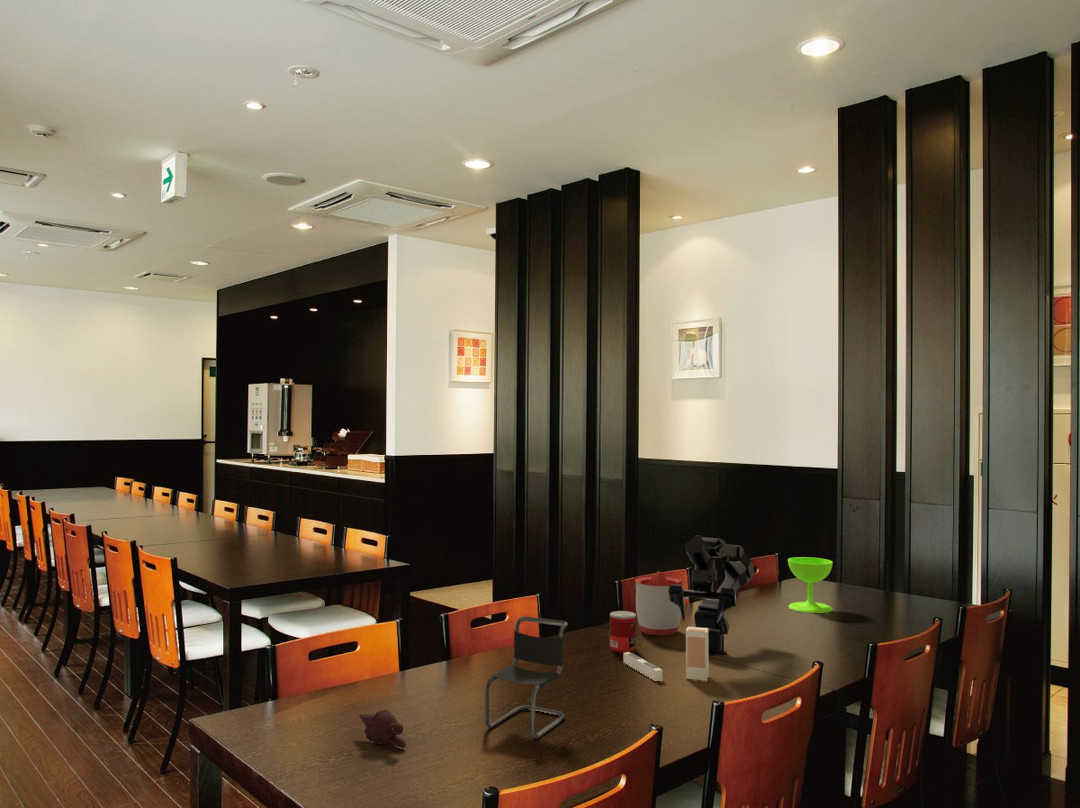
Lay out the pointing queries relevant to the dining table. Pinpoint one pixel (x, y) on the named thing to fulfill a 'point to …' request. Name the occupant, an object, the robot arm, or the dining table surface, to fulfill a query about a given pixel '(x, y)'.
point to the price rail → (643, 666)
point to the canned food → (623, 631)
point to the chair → (536, 652)
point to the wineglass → (810, 581)
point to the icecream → (383, 728)
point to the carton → (697, 653)
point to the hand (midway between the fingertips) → (700, 621)
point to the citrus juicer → (657, 605)
